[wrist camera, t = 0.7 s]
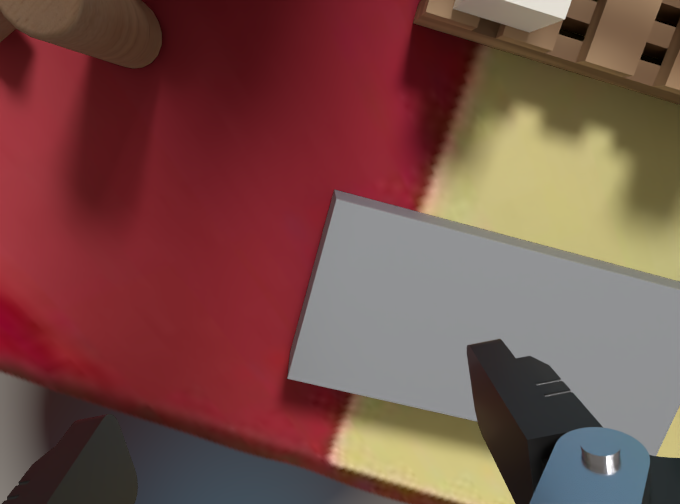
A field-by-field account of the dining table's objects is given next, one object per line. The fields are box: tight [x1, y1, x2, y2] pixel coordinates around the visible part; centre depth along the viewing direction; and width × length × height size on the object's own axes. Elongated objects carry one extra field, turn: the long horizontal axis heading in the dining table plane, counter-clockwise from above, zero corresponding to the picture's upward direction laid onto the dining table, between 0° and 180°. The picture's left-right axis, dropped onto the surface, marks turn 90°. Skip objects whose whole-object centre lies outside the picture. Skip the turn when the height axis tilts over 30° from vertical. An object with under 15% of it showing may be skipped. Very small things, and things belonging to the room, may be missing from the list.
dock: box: [287, 190, 680, 456], centre depth 37 cm, size 12×26×4 cm, turn 75°
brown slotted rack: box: [413, 0, 680, 105], centre depth 32 cm, size 6×22×4 cm, turn 75°
